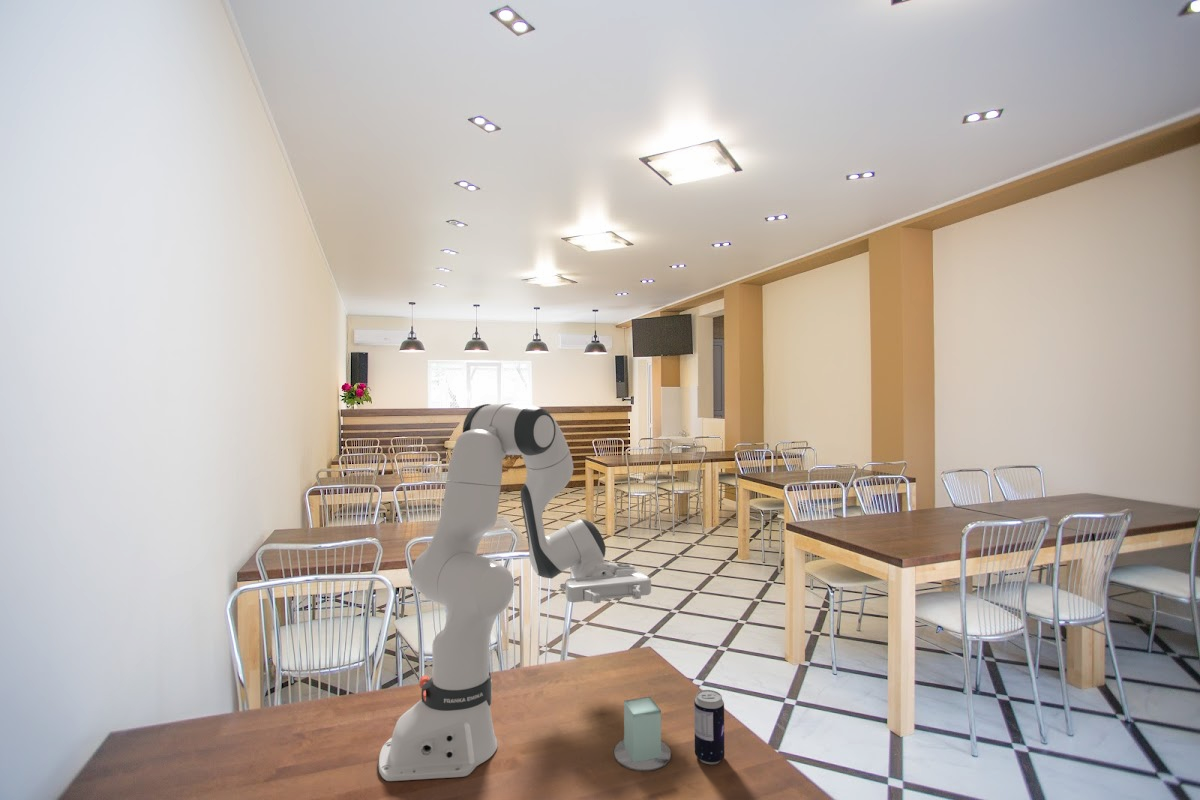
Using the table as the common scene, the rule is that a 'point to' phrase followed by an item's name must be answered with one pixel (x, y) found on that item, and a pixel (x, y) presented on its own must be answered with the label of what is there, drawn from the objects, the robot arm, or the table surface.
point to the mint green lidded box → (642, 729)
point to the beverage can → (709, 726)
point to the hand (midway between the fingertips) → (617, 597)
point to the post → (644, 765)
